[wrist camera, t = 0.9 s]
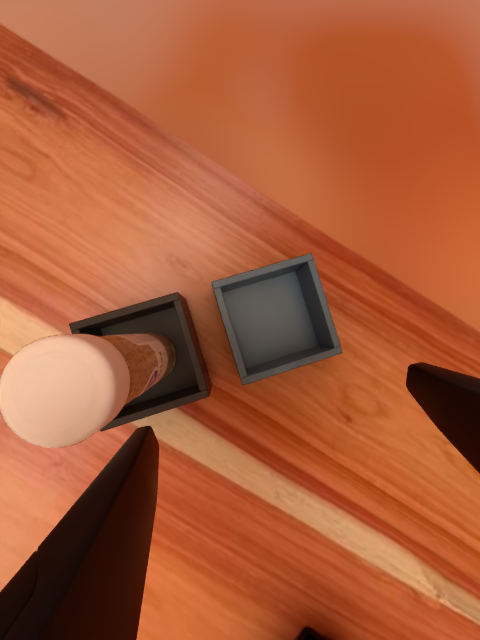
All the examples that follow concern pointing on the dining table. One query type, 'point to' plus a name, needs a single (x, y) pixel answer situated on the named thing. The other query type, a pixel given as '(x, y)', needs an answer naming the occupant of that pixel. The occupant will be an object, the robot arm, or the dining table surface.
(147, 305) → the tray
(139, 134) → the dining table surface
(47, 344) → the sprinkles bottle
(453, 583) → the dining table surface
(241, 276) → the tray
